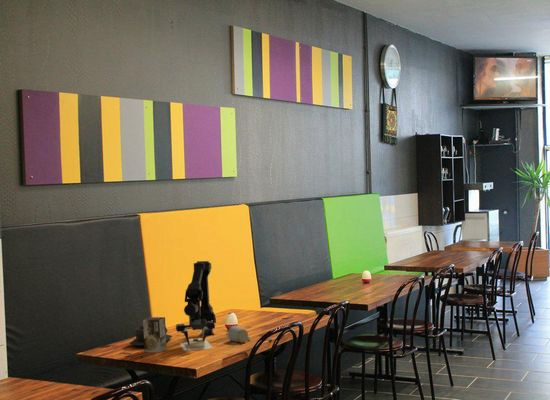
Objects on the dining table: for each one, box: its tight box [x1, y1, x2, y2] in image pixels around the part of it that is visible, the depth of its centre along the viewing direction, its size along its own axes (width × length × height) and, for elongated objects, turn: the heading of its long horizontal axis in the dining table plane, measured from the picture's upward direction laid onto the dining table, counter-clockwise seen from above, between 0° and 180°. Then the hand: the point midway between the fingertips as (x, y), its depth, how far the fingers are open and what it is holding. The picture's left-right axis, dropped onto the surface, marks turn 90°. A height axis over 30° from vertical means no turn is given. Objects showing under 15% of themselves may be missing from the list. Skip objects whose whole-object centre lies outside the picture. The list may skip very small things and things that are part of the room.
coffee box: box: [142, 316, 168, 353], centre depth 357 cm, size 9×6×16 cm
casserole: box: [129, 325, 173, 347], centre depth 375 cm, size 25×19×8 cm
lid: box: [187, 337, 205, 348], centre depth 365 cm, size 11×7×3 cm, turn 15°
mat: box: [179, 340, 214, 352], centre depth 365 cm, size 18×14×1 cm
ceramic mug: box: [227, 325, 251, 344], centre depth 373 cm, size 11×8×8 cm
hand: (195, 343), depth 365 cm, fingers closed on lid, 7 cm apart
